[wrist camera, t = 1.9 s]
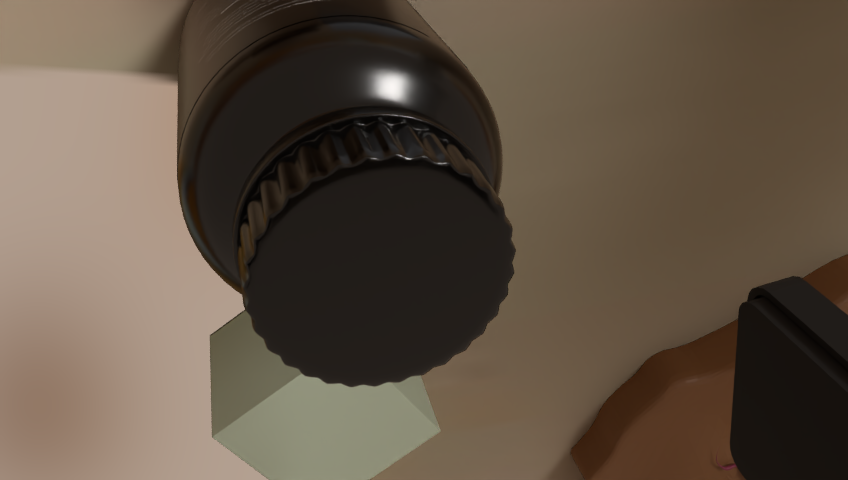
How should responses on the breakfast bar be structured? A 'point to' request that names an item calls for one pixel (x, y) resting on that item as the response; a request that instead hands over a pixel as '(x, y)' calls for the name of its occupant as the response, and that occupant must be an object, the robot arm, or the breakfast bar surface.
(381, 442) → the sage cube
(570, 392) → the breakfast bar surface
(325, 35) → the supplement bottle
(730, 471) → the plant
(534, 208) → the breakfast bar surface
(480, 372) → the breakfast bar surface
